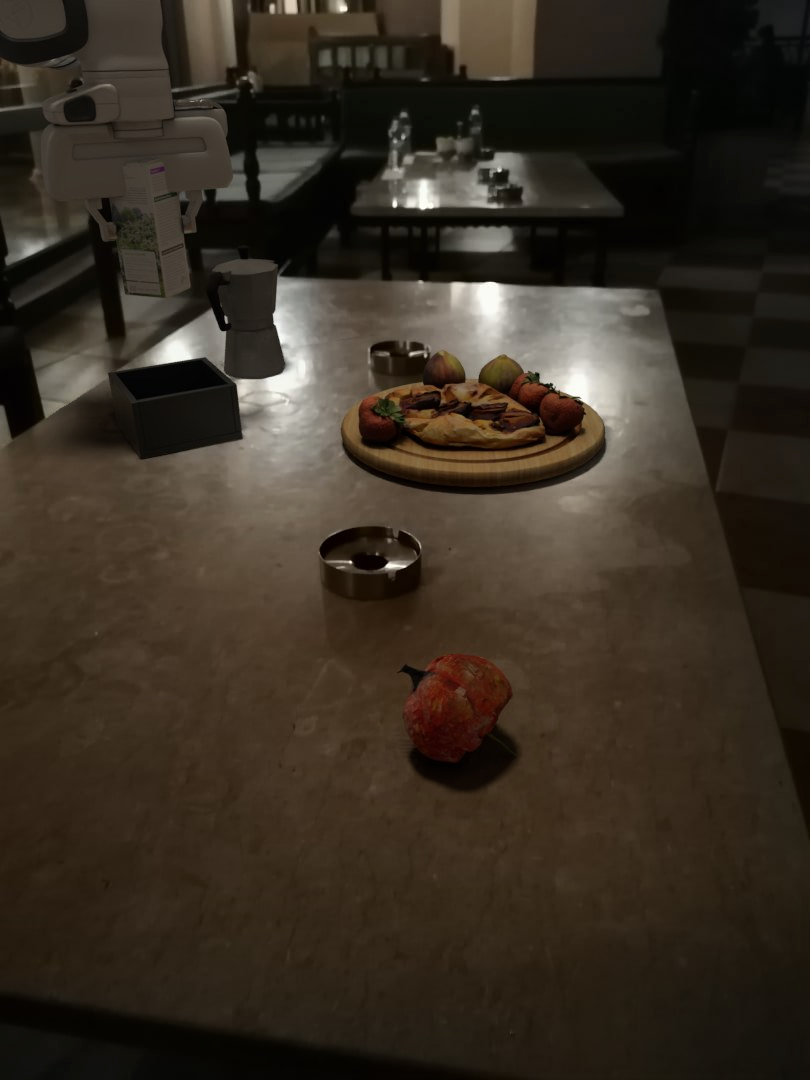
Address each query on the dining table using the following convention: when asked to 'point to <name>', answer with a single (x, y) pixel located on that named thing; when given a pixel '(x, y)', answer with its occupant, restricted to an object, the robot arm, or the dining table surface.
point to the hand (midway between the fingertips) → (149, 236)
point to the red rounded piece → (454, 705)
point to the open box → (175, 406)
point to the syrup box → (150, 233)
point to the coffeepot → (247, 315)
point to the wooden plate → (473, 427)
